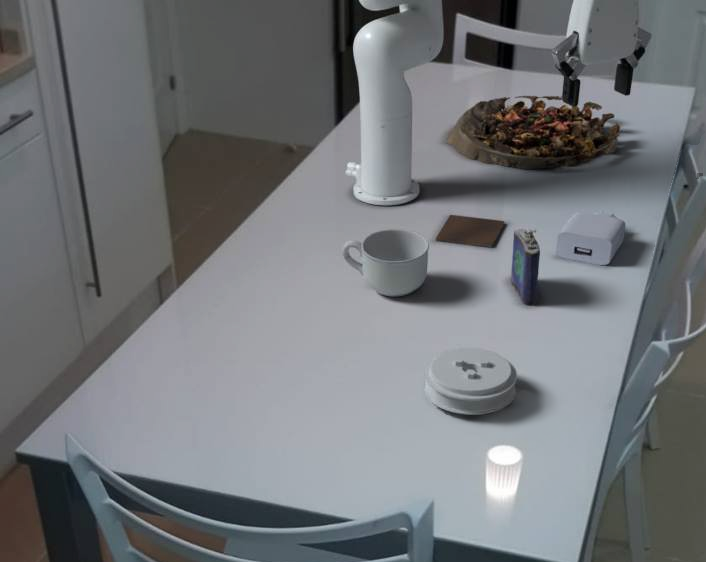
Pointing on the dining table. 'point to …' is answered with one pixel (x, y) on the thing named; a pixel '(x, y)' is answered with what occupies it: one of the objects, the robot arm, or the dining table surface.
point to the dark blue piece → (525, 265)
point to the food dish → (532, 134)
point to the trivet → (470, 231)
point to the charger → (591, 237)
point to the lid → (470, 381)
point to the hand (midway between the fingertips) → (596, 98)
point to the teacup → (391, 260)
